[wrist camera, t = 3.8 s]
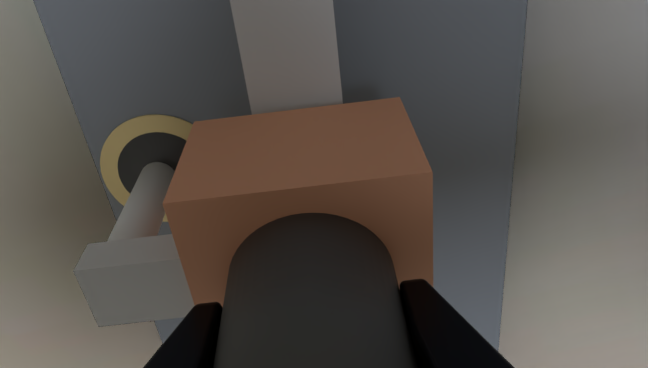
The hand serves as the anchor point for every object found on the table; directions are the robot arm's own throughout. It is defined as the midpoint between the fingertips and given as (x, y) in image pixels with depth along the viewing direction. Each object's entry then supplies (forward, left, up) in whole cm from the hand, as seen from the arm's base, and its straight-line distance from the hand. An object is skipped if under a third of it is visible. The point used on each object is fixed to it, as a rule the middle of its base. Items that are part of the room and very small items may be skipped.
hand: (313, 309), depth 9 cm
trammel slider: (+1, 0, -5) cm, 5 cm away
